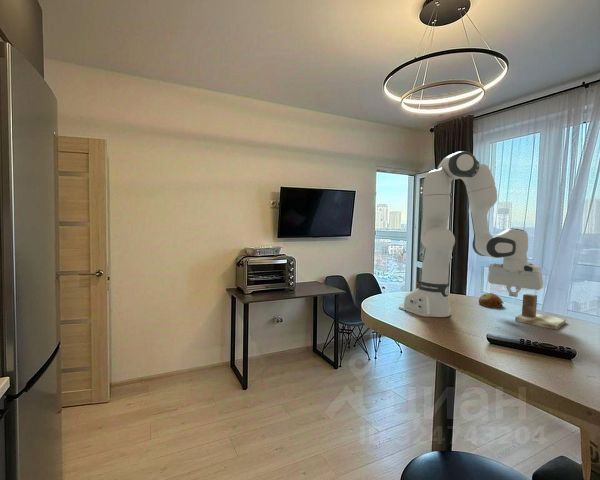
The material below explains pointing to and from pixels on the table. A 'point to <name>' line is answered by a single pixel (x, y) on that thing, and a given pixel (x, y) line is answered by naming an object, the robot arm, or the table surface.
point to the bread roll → (490, 300)
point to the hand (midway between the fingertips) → (513, 296)
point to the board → (542, 321)
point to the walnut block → (529, 305)
